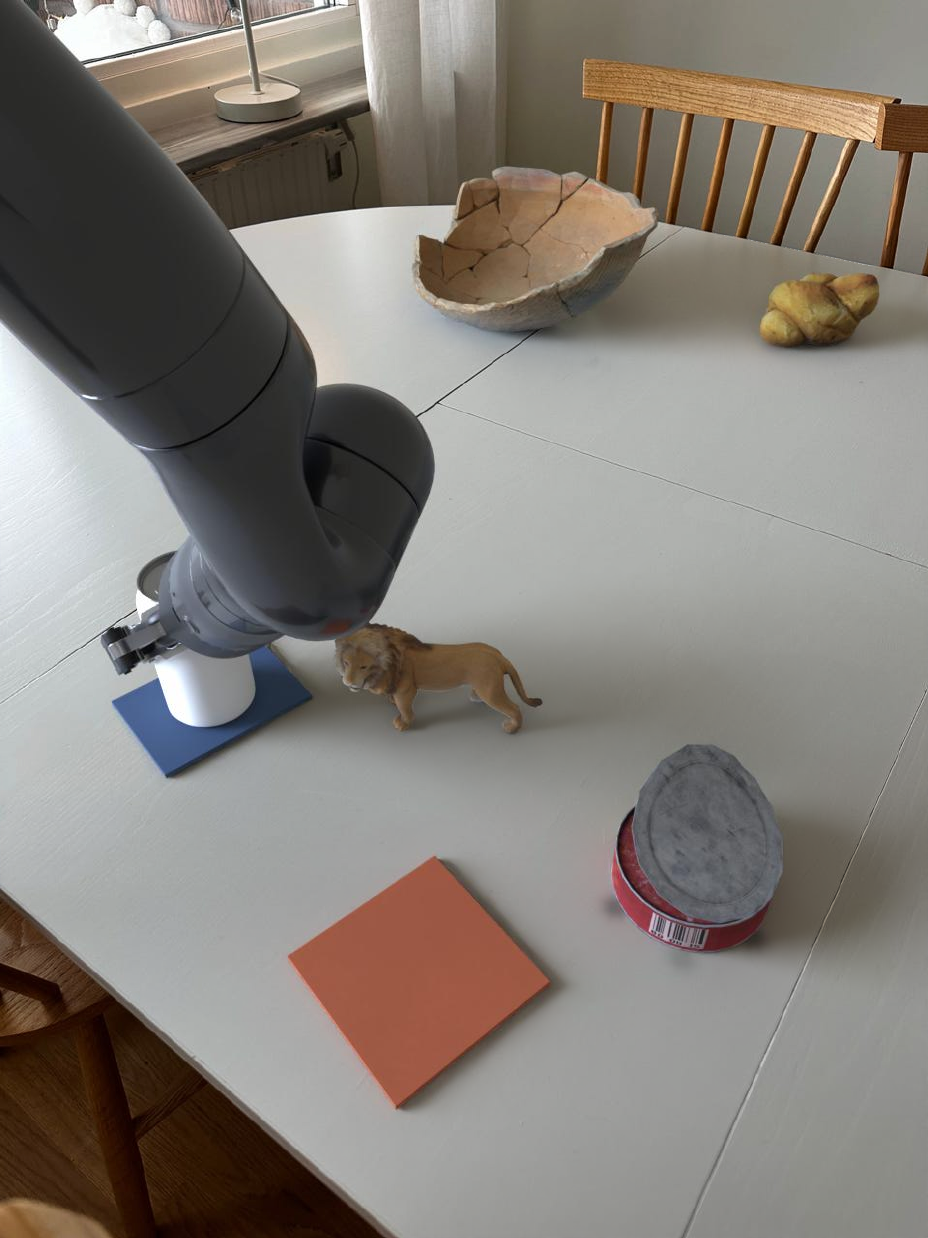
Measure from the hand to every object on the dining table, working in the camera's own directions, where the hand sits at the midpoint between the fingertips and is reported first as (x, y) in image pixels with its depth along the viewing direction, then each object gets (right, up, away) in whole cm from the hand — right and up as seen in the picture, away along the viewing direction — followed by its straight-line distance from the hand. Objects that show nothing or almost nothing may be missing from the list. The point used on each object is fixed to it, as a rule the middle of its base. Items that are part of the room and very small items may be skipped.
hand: (185, 626), depth 70 cm
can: (+1, -6, +3) cm, 7 cm away
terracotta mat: (+17, -20, -12) cm, 29 cm away
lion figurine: (+18, -7, +2) cm, 19 cm away
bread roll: (+60, +34, +46) cm, 83 cm away
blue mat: (+1, -6, +4) cm, 7 cm away
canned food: (+34, -16, -8) cm, 39 cm away
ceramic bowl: (+28, +40, +53) cm, 72 cm away
